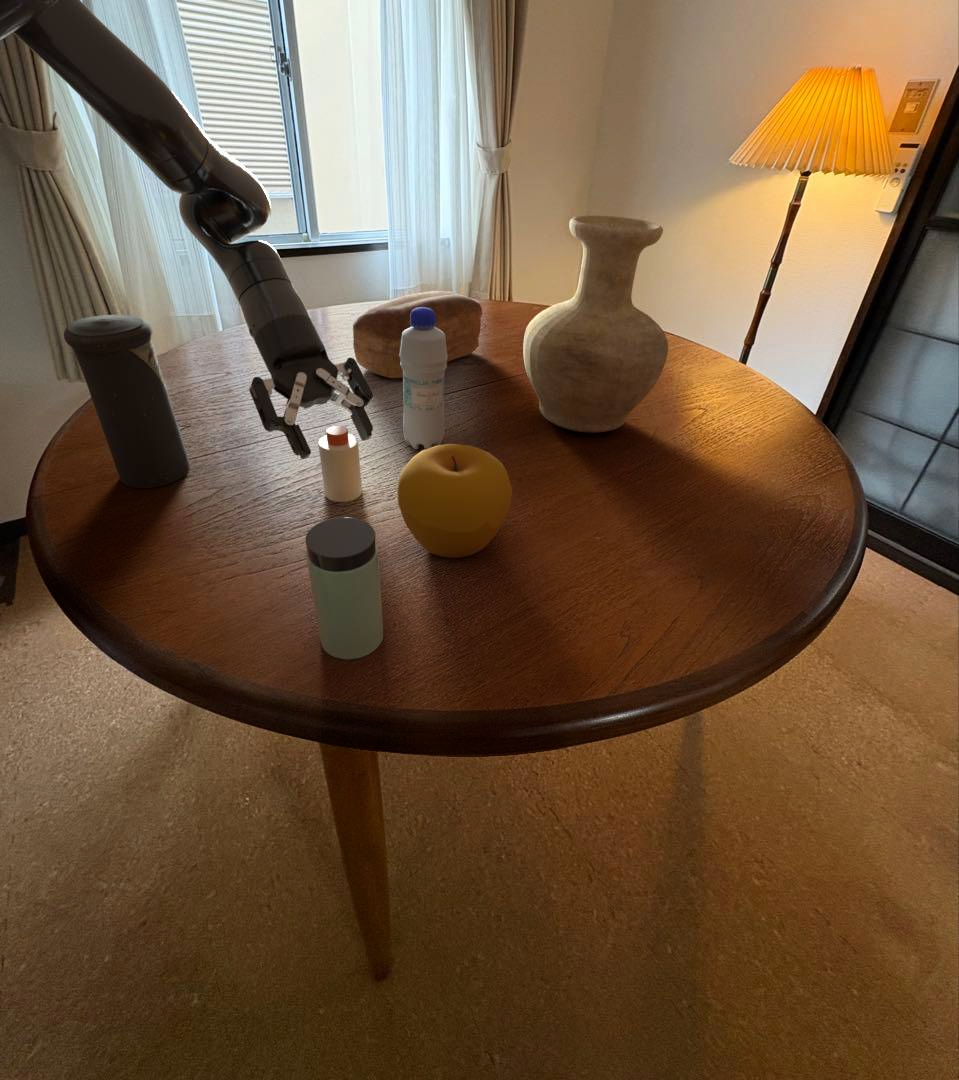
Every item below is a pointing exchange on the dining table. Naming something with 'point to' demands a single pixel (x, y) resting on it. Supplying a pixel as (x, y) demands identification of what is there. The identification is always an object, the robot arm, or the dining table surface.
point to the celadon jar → (345, 586)
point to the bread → (388, 320)
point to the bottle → (423, 379)
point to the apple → (454, 498)
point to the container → (130, 398)
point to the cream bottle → (340, 465)
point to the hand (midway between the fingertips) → (338, 446)
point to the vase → (597, 333)
